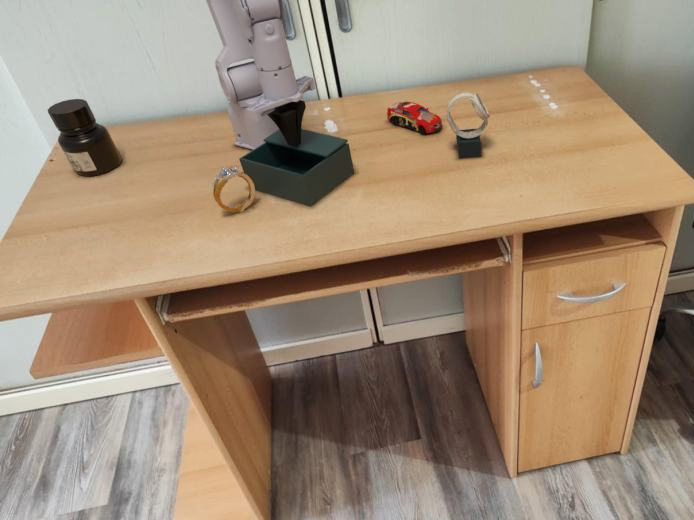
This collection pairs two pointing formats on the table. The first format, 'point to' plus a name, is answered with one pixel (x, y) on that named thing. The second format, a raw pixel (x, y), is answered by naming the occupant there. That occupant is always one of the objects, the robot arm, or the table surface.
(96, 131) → the ink bottle
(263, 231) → the table surface
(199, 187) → the table surface
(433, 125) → the race car
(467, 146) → the watch
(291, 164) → the carton
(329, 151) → the flap
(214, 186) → the ring
